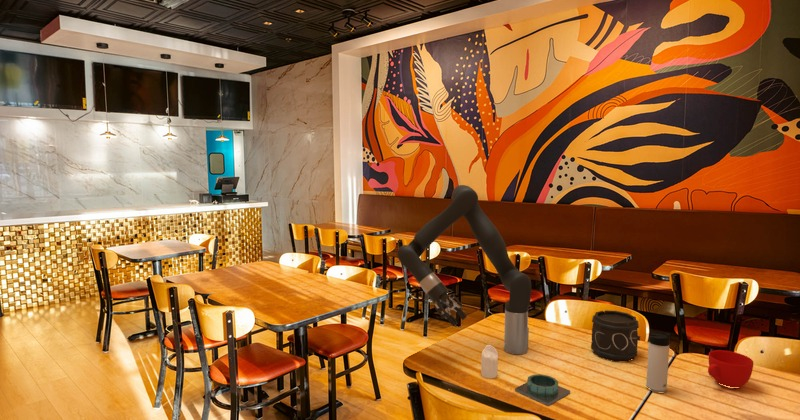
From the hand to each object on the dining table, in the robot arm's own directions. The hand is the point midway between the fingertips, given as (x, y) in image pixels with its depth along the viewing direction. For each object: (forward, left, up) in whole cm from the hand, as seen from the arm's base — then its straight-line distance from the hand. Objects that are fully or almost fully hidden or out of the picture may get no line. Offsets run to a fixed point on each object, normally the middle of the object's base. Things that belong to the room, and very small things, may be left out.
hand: (460, 321), depth 182 cm
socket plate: (-8, +31, -18) cm, 37 cm away
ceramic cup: (-61, +69, -19) cm, 94 cm away
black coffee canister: (-58, +31, -19) cm, 68 cm away
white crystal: (-4, +11, -19) cm, 22 cm away
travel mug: (-40, +55, -19) cm, 71 cm away
